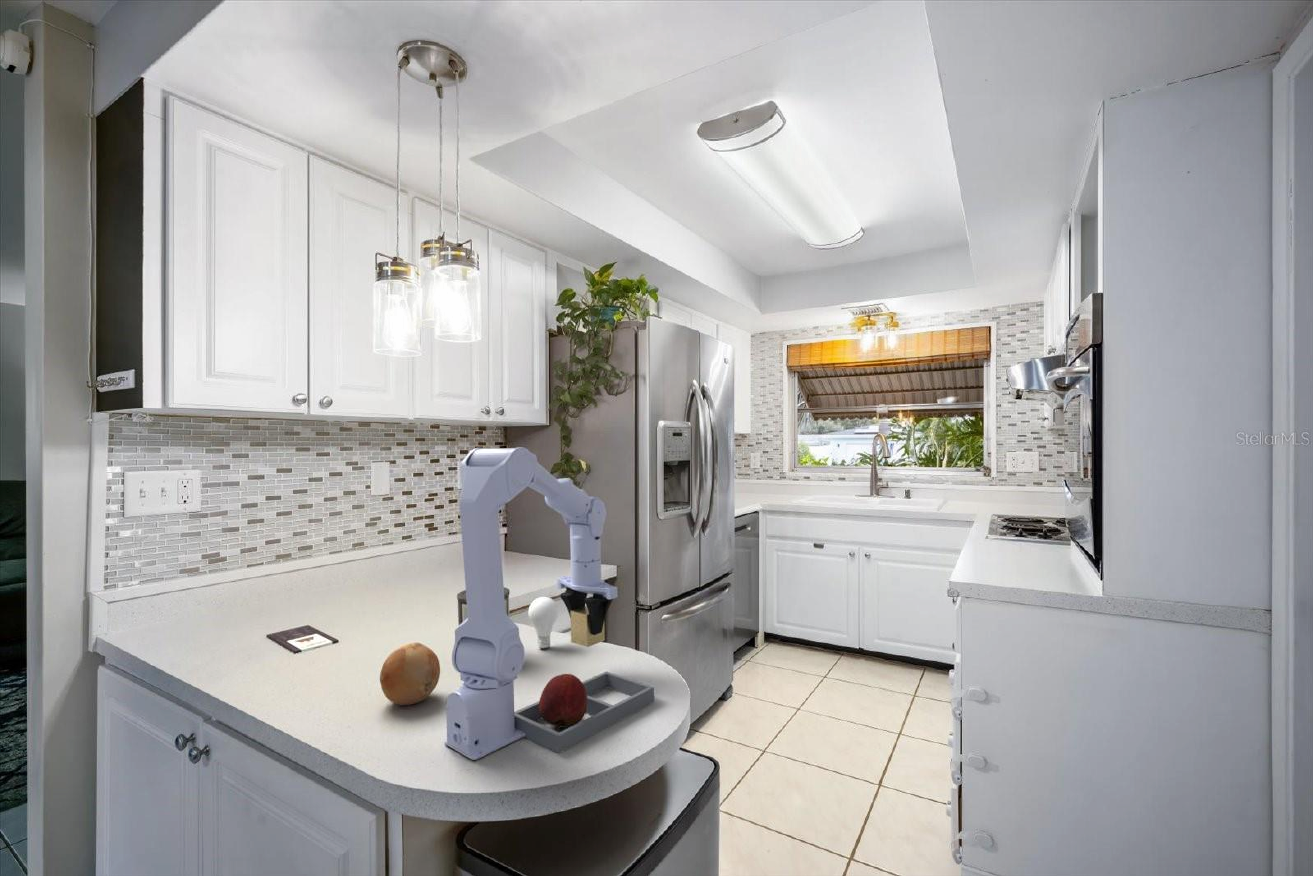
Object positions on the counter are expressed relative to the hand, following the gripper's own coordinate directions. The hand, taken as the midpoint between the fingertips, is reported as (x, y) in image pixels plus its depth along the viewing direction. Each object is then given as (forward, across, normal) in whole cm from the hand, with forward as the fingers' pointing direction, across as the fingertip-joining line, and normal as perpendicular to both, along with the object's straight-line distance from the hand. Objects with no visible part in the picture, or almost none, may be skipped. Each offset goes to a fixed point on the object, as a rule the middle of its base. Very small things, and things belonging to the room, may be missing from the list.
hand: (587, 630), depth 116 cm
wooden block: (+2, 0, 0) cm, 2 cm away
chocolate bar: (+9, +68, +26) cm, 73 cm away
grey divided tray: (+8, -12, +12) cm, 19 cm away
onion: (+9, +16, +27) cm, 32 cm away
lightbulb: (+8, +18, -4) cm, 20 cm away
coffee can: (+9, +22, +8) cm, 25 cm away
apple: (+9, -12, +16) cm, 22 cm away
